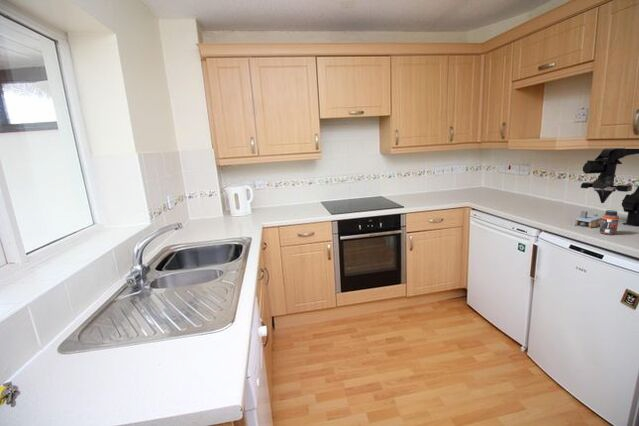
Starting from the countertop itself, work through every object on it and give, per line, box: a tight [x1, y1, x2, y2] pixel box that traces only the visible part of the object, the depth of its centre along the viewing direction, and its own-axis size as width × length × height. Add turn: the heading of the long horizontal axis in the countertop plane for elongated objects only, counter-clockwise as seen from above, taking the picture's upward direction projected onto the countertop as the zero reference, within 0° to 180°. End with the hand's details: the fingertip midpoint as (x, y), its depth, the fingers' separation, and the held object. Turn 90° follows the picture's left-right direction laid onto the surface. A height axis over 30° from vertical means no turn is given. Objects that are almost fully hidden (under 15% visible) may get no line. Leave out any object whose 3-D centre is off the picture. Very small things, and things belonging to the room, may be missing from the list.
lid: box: [575, 210, 602, 222], centre depth 159 cm, size 14×6×4 cm, turn 117°
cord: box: [580, 221, 589, 227], centre depth 160 cm, size 7×3×3 cm, turn 115°
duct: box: [574, 219, 602, 229], centre depth 160 cm, size 13×7×3 cm, turn 117°
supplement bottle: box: [599, 209, 620, 236], centre depth 144 cm, size 6×6×11 cm
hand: (602, 202), depth 157 cm, fingers closed
